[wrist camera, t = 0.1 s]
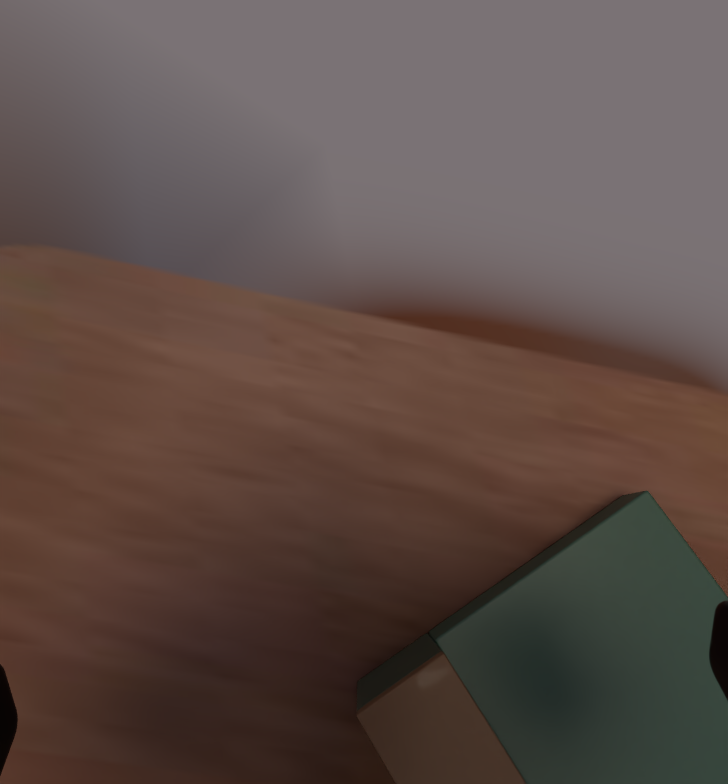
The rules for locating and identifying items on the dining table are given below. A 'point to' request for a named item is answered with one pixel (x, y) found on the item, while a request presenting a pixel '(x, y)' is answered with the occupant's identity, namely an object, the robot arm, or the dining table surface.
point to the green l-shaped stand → (565, 669)
